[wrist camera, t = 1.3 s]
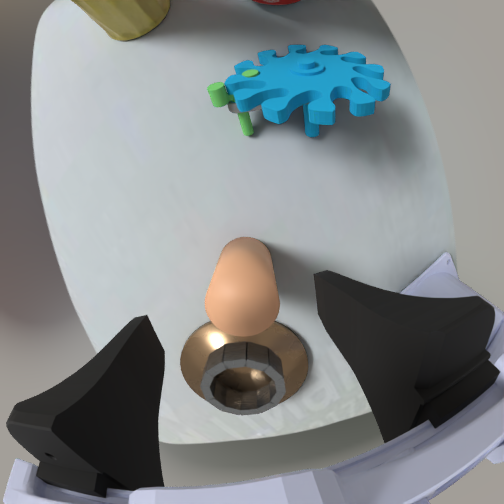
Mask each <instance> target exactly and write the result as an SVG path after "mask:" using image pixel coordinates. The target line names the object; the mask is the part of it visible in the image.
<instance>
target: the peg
mask: <svg viewBox="0 0 504 504" xmlns="http://www.w3.org/2000/svg"><path fill="white" fill-rule="evenodd" d="M279 308H280V301H279V295H278V290H277V285H276V280H275V274H274V269H273V264H272V259H271V255H270V252H269V250H268V248H267V247H266V246H265V245H264V244H263V243H262V242H260V241H259V240H257V239H254V238H251V237H240V238H237V239H234V240H232V241H230V242H229V243H228V244H227V245H226V246H225V247H224V249H223V250H222V252H221V255H220V258H219V260H218V263H217V266H216V268H215V271H214V274H213V277H212V279H211V282H210V285H209V288H208V291H207V293H206V297H205V309H206V313H207V315H208V317H209V319H210V320H211V322H212V323H213V324H214V325H215V326H216V327H217V328H218V329H220V330H221V331H223V332H225V333H227V334H230V335H234V336H241V337H246V336H253V335H256V334H259V333H261V332H263V331H265V330H266V329H267V328H269V327H270V326H271V325H272V324H273V322H274V321H275V319H276V318H277V315H278V313H279Z"/></svg>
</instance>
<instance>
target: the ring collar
mask: <svg viewBox="0 0 504 504" xmlns="http://www.w3.org/2000/svg"><path fill="white" fill-rule="evenodd" d="M180 365H181V371H182V374H183V377H184V379H185V380H186V382H187V384H188V385H189V386H190V388H191V389H192V390H193V391H194V392H195V393H196V394H198V395H199V396H200V397H202V398H203V399H205V400H206V401H208V402H209V403H211V404H212V405H213V406H215V407H216V408H218V409H219V410H221V411H224V412H228V413H232V414H236V415H240V414H241V415H251V414H260V413H263V412H265V411H267V410H269V409H271V408H273V407H275V406H277V405H278V404H279V403H281V402H283V401H285V400H287V399H288V398H290V397H291V396H292V395H293V394H294V393H296V392H297V391H298V389H299V388H300V387H301V386H302V384H303V382H304V380H305V378H306V375H307V371H308V359H307V354H306V351H305V348H304V346H303V344H302V342H301V341H300V339H299V338H298V337H297V336H296V335H295V334H294V333H293V332H292V331H291V330H290V329H288V328H287V327H285V326H284V325H282V324H280V323H278V322H276V321H274V322H273V324H272V325H271V326H270V327H269V328H267V329H266V330H265V331H263V332H261V333H259V334H256V335H253V336H246V337H241V336H234V335H230V334H227V333H225V332H223V331H221V330H220V329H218V328H217V327H216V326H215V325H214V324H213V323H212V322H211V321H210V322H207V323H205V324H204V325H202V326H200V327H199V328H198V329H197V330H195V331H194V332H193V333H192V334H191V335H190V337H189V338H188V339H187V341H186V343H185V345H184V348H183V350H182V353H181V358H180Z"/></svg>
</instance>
